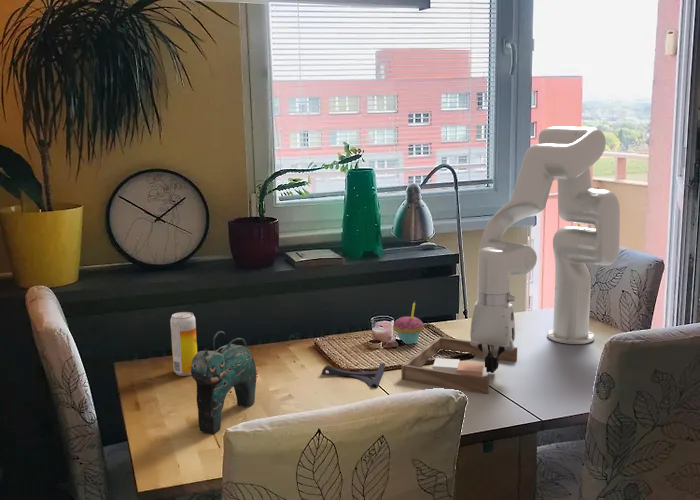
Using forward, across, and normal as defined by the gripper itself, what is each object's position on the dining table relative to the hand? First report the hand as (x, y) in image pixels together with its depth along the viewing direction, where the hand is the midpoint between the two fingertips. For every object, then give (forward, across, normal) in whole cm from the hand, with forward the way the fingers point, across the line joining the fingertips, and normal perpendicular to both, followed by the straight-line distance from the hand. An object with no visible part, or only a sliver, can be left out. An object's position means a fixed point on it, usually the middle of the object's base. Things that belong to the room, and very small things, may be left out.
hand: (491, 370), depth 185 cm
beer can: (+1, +70, +31) cm, 76 cm away
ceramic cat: (+1, +44, +49) cm, 66 cm away
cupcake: (+1, +28, -15) cm, 32 cm away
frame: (+1, +8, 0) cm, 8 cm away
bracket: (+2, +31, +15) cm, 34 cm away
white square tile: (+1, +10, +4) cm, 11 cm away
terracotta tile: (+1, +4, +4) cm, 6 cm away
